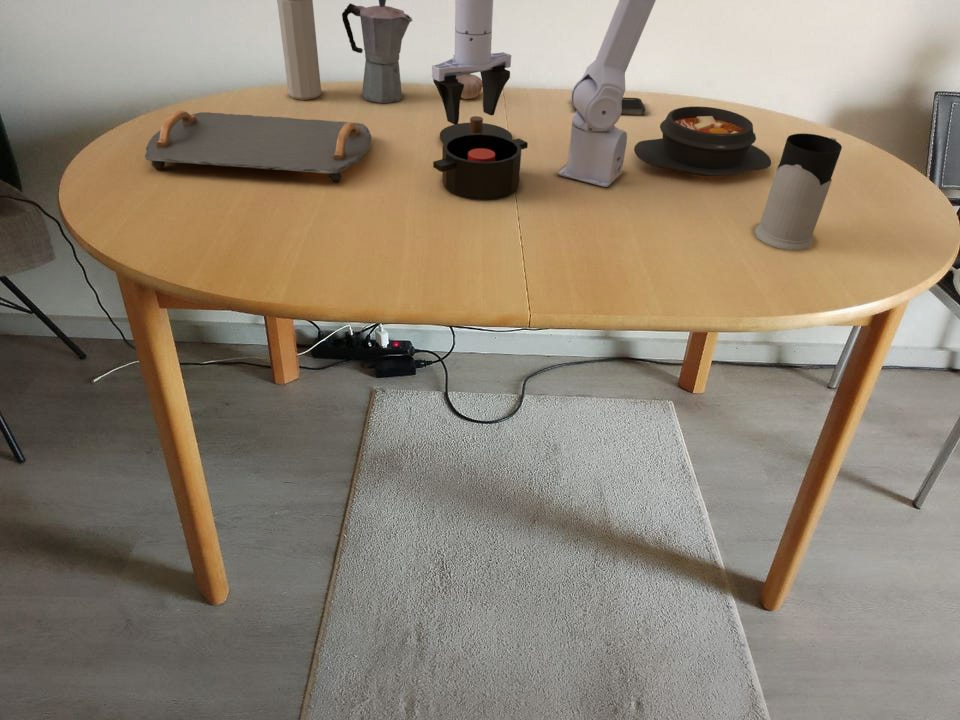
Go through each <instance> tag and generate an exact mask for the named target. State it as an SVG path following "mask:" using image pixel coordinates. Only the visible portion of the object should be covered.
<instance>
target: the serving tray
mask: <svg viewBox="0 0 960 720" xmlns="http://www.w3.org/2000/svg"><path fill="white" fill-rule="evenodd" d="M372 138H373V136H372V134H371V132H370V130H369V128H368V126H366V125H365V124H364V123H360V122H352V121H351V122H349V121H336V120H335V121H333V120H325V119H306V118H305V119H302V118H295V117H294V118H293V117H284V116H266V115H265V116H264V115H252V114H233V113H222V112H206V111H205V112H196V113H192V114H190V113H189V112H187V111H185V110H177V111H175V112H172V113H171V114H170V115H169V116H167V117H166V118H165V120H164V121H163V123H162V125H161V128H160V129H159V130H158V131H157V132H156V133H155V134H153V135H152V137H151V138H150V139H149V141H148V143H147V145H146V147H145V155H144V158H145V160H146V161H148V162H149V161H150V164H151V166H152V167H153V168H154V170H156V171H162V170H164V168H165V165H166V163H175V164H191V165H192V164H193V165H204V166H205V165H207V166H218V167H219V166H220V167H234V168H244V169H245V168H247V169H260V170H261V169H262V170H273V171H275V170H276V171H288V172H302V173H314V174H315V173H317V174H328V178H329V180H330V181H331V183H332V184H339V183H340V182H341V181H342V178H343V174H342V173H341V172H343V171H346V170H347V169H350V168H351V167H352V166H354V165H355V164H357V163H358V162H360V161H361V160H362V158H363V157H365V155H366V154H367V153H368V152H369V151H370V150H371V146H372Z"/></svg>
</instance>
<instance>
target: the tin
mask: <svg viewBox="0 0 960 720" xmlns="http://www.w3.org/2000/svg"><path fill="white" fill-rule="evenodd" d="M468 160H470V161H480V162H490V161H495V152H494V151H492V150H489V149H483V148H478V149H472V150H470V151H469V152H468Z"/></svg>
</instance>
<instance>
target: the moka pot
mask: <svg viewBox="0 0 960 720" xmlns="http://www.w3.org/2000/svg"><path fill="white" fill-rule="evenodd" d="M386 3H387V0H378V5H372V6H368V7H367V6H362V5H355V4H353V3H348V5H347V6H346V8H345V9H344V11H343V12H342V13H341V18H342V23H343V25H344V29H345V31H346V34H347V38H348V42H349V43H350V48H351V51H353V52H355V53H357V54H362V53H363V52H364V57H365V64H364V71H363V82H362V91H361V97H362V98H364V99H365V100H366V101H369V102H372V103H378V104H391V103H396V102H399V101H400V100H401V99H402V98H403V92H402V82H401V73H400V61H399V60H400V53H401V50H402V42H403V38H404V37H405V35H406V33H407V30H408V27H409V26H410V23H411V22H413V18H412V17H411V16H410V15H409V14H407V13H405V11H404V10H403V9H399V8H395V7H393V6H389V5H386ZM350 14H353V15H354V16H356V17H359V18H360V25H361V34H362V42H363V48H362V47H358V46H357V43H356V41H355V39H354V34H353V30H352V27H351V24H350V20H349V17H348V16H349V15H350Z"/></svg>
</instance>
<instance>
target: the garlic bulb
mask: <svg viewBox="0 0 960 720" xmlns="http://www.w3.org/2000/svg"><path fill="white" fill-rule="evenodd" d="M456 79H458V82H460V83H462V84H464V88H463V91H462V94H461V99H463V100H468V99H476V98H477V97H478V96H479V95H480V93H481V91H483V85H482V78H481V77H479V76H478V75H476V74H473V73H471V74H466V75H461V76H456Z"/></svg>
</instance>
